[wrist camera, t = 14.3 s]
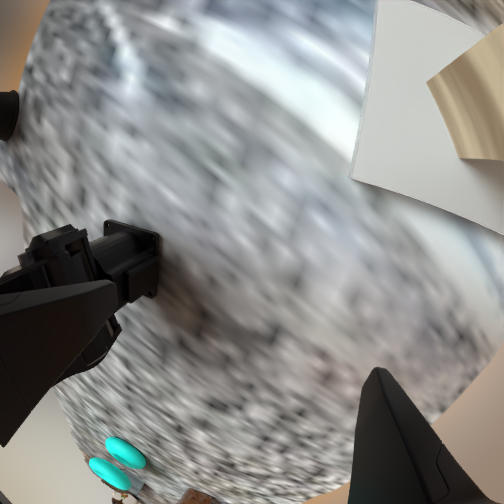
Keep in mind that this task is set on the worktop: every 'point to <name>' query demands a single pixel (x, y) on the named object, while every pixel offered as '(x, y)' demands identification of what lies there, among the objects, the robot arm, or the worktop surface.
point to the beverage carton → (135, 484)
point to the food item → (195, 497)
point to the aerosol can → (8, 113)
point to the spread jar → (124, 498)
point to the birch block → (474, 98)
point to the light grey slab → (420, 117)
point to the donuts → (123, 455)
